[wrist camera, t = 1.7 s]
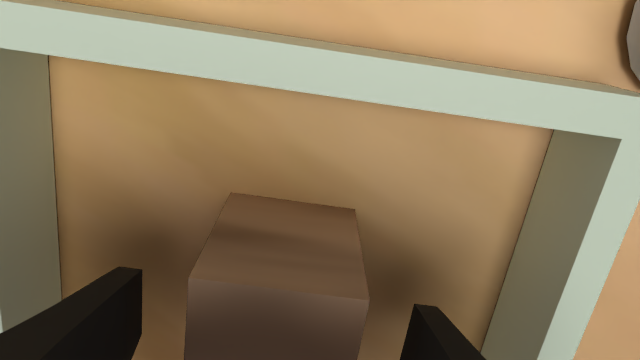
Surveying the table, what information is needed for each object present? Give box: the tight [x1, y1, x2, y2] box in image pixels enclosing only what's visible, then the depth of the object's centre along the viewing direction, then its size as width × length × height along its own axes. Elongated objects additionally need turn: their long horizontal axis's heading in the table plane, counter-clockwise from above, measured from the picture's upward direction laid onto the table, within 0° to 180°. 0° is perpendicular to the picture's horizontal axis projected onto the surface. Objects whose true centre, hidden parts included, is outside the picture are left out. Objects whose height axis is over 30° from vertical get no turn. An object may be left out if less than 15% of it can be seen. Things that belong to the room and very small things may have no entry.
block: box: [184, 193, 370, 360], centre depth 13 cm, size 4×4×5 cm
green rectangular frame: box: [0, 0, 640, 360], centre depth 14 cm, size 14×17×3 cm
